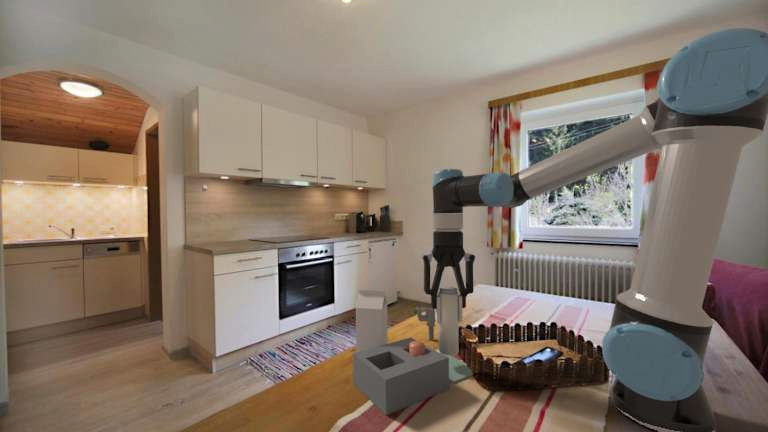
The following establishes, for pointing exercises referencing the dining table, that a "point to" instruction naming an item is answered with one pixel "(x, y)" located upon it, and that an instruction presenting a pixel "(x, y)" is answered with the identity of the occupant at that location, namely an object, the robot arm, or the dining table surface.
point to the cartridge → (448, 321)
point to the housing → (399, 375)
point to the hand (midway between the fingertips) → (448, 320)
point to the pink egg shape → (416, 348)
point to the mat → (458, 370)
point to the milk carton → (371, 319)
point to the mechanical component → (427, 318)
